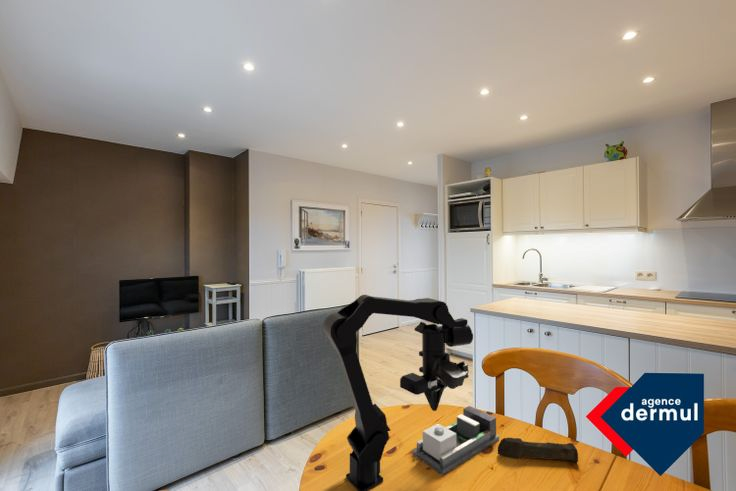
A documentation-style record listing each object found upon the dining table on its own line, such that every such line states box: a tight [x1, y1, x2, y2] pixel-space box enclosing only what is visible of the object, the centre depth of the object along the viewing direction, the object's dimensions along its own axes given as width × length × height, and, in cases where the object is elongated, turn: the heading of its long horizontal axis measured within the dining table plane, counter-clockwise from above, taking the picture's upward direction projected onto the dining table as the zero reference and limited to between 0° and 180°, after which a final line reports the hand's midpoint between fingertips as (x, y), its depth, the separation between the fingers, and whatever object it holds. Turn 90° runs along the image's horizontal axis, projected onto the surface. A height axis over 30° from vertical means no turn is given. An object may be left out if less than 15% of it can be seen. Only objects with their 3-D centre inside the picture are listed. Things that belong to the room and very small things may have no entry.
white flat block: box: [456, 413, 480, 439], centre depth 91 cm, size 2×6×4 cm, turn 37°
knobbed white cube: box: [422, 423, 456, 461], centre depth 84 cm, size 6×6×5 cm
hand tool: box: [497, 437, 579, 464], centre depth 84 cm, size 19×4×5 cm, turn 82°
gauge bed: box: [412, 405, 500, 476], centre depth 88 cm, size 24×10×6 cm, turn 127°
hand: (434, 410), depth 83 cm, fingers closed
